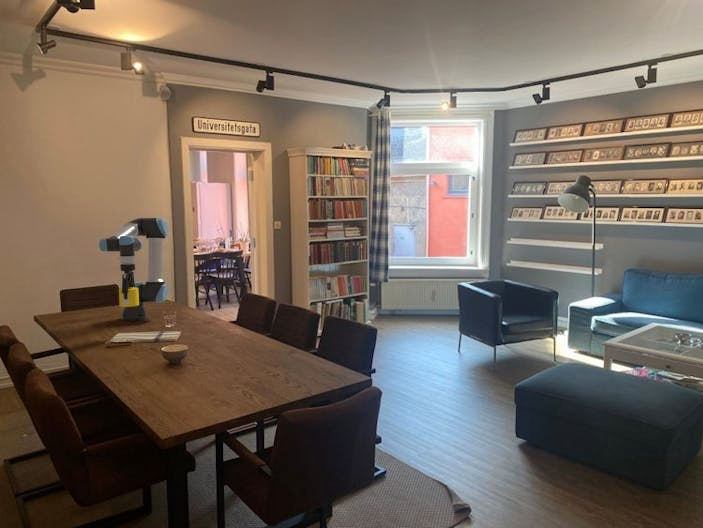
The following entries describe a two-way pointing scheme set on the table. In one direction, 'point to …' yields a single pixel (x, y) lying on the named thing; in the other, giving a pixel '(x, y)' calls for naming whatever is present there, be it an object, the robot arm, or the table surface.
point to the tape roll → (130, 297)
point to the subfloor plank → (147, 336)
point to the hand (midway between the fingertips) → (129, 303)
